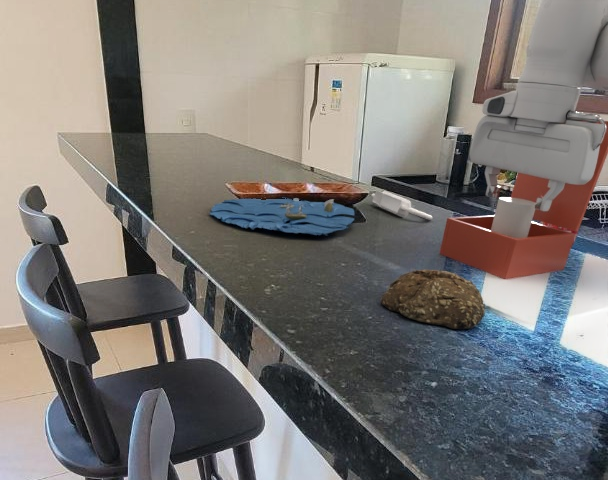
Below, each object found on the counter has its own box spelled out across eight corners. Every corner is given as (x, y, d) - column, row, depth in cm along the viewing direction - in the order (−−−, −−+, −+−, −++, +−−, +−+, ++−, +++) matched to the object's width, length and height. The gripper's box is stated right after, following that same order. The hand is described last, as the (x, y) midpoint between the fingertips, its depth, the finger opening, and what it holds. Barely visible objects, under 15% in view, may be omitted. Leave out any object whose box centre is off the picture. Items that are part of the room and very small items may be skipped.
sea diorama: (238, 249, 87) (238, 217, 85) (194, 206, 111) (193, 180, 108) (390, 239, 98) (394, 211, 96) (321, 202, 122) (323, 178, 119)
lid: (616, 122, 78) (619, 123, 79) (537, 113, 88) (539, 114, 89) (575, 231, 85) (578, 231, 86) (505, 211, 95) (508, 211, 95)
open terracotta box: (504, 284, 80) (516, 239, 77) (438, 258, 90) (447, 217, 87) (562, 274, 89) (575, 234, 85) (496, 251, 98) (506, 214, 95)
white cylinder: (497, 255, 93) (513, 196, 88) (526, 265, 88) (544, 204, 84) (476, 257, 89) (491, 197, 85) (504, 268, 85) (522, 205, 81)
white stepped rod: (435, 229, 117) (442, 212, 116) (407, 220, 113) (414, 202, 112) (388, 208, 133) (394, 193, 132) (362, 199, 129) (367, 184, 128)
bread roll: (478, 301, 72) (488, 265, 70) (485, 336, 61) (497, 295, 59) (385, 285, 74) (391, 250, 72) (376, 316, 63) (383, 277, 61)
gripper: (622, 117, 73) (587, 218, 79) (500, 103, 87) (478, 190, 93) (598, 113, 69) (563, 219, 75) (475, 100, 84) (454, 190, 90)
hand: (515, 203), depth 85 cm, fingers open, 8 cm apart
